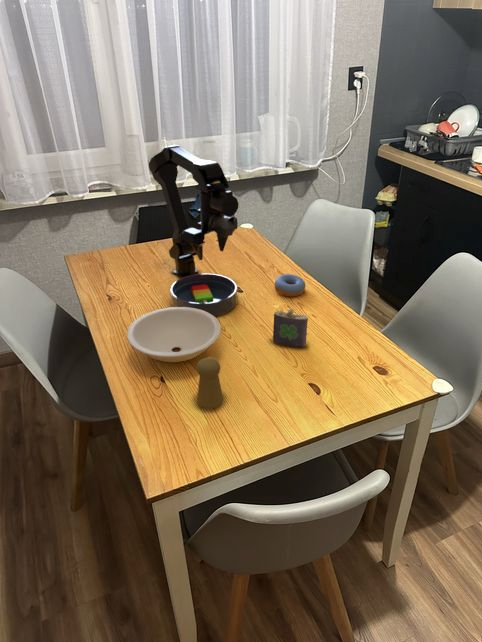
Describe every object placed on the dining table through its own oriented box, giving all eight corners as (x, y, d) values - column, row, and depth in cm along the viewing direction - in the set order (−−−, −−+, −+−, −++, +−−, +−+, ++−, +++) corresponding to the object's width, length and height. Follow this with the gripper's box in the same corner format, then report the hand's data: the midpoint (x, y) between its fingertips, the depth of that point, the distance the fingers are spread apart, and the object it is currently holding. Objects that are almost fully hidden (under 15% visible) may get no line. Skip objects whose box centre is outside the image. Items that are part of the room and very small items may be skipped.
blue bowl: (158, 303, 153) (156, 289, 150) (204, 281, 166) (203, 268, 164) (205, 326, 142) (204, 310, 140) (250, 300, 156) (250, 286, 153)
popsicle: (207, 288, 161) (207, 283, 160) (217, 311, 149) (217, 305, 148) (190, 290, 159) (190, 285, 158) (199, 313, 147) (199, 308, 146)
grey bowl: (145, 388, 118) (141, 366, 114) (120, 339, 136) (116, 318, 132) (236, 362, 127) (236, 340, 124) (202, 319, 145) (200, 299, 142)
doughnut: (310, 295, 159) (311, 282, 157) (283, 301, 156) (283, 288, 153) (295, 282, 167) (296, 269, 164) (269, 287, 163) (269, 275, 161)
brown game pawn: (197, 392, 117) (194, 354, 111) (223, 391, 117) (221, 353, 112) (196, 409, 112) (193, 370, 106) (223, 408, 112) (222, 369, 106)
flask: (306, 343, 135) (309, 309, 130) (304, 349, 133) (306, 315, 127) (274, 338, 137) (275, 304, 132) (271, 343, 135) (272, 309, 129)
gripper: (206, 221, 137) (208, 272, 145) (250, 205, 149) (250, 253, 157) (179, 211, 143) (182, 261, 151) (224, 197, 155) (224, 244, 163)
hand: (211, 255), depth 156 cm, fingers open, 9 cm apart
